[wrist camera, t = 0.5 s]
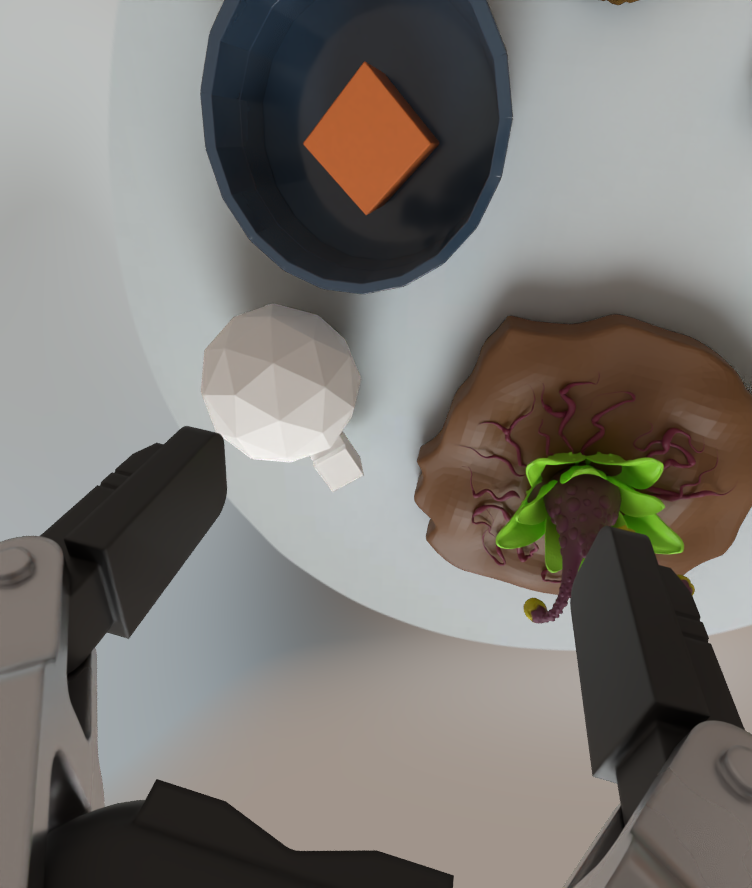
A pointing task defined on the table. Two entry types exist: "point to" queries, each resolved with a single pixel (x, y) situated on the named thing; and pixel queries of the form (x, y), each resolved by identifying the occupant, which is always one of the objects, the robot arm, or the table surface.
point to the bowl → (310, 96)
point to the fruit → (620, 1)
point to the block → (370, 139)
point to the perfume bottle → (284, 390)
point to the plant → (587, 453)
